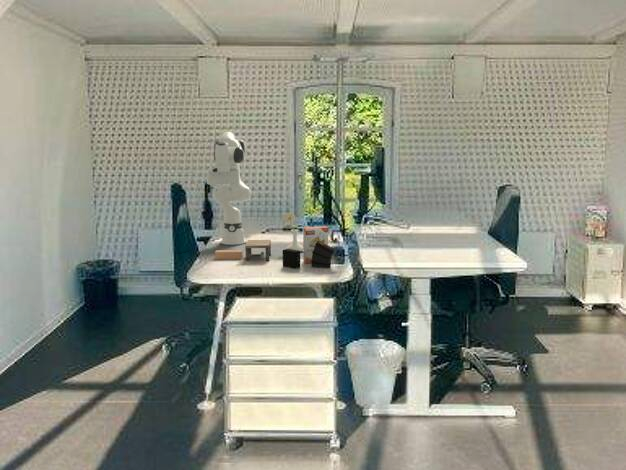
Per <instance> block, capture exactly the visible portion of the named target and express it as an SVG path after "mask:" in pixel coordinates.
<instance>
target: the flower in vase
mask: <svg viewBox="0 0 626 470" xmlns="http://www.w3.org/2000/svg"><path fill="white" fill-rule="evenodd" d="M282 219H283V221H284V222H285V223H288V224H287V225H285V226H284V228H285V229H290V228H292V229H290V231H291V233H292V242H291V243H290V244H289V245H288V246H286V248H285V249H293V250H299V251H300V252H302V251H303V244H301V243H299V242H298V237H297V236H298V233H299V231H300V230H299V229H295V228H298V226H299V224H296V225H294V226H292V222H294V221H295V220H296V215H295V213H293V212H289V213H288V212H287V213H286V214H285V215H284V216H283V218H282Z"/></svg>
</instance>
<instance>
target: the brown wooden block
mask: <svg viewBox="0 0 626 470" xmlns="http://www.w3.org/2000/svg"><path fill="white" fill-rule="evenodd" d="M243 255H244V254H243V249H230V250H229V249H219V250H215V253H214V256H215V258H214V259H215V260H242V259H243Z"/></svg>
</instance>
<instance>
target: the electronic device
mask: <svg viewBox="0 0 626 470" xmlns="http://www.w3.org/2000/svg"><path fill="white" fill-rule="evenodd" d="M282 267H283V268H288V269H292V270H293V269H294V270H295V269H300V268H301V251H299V250H293V249H286V248H285V249H283V250H282Z"/></svg>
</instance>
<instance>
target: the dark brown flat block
mask: <svg viewBox="0 0 626 470" xmlns="http://www.w3.org/2000/svg"><path fill="white" fill-rule="evenodd" d="M335 250H336V249H335V248H333V247H331V246H330V245H329V244H328V245H326V244H324V243H322V242H320V241H317V243H316V244H315V247H314V251H313V252H312V253H313V255H312V261H311V263H310V264H311V266H310V267H311V268H317V269H319V268H321V269H330V268H331V266H332V259H333V255H334V253H335V252H336V251H335Z"/></svg>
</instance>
